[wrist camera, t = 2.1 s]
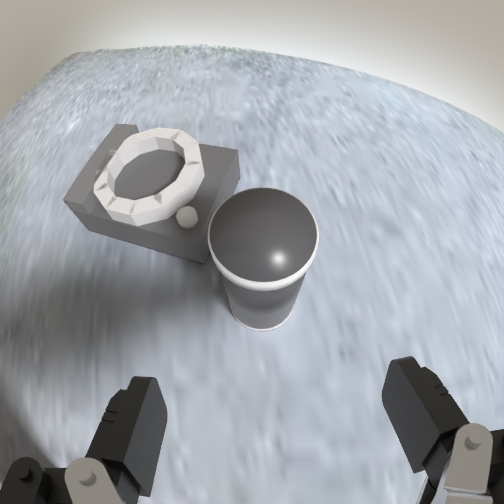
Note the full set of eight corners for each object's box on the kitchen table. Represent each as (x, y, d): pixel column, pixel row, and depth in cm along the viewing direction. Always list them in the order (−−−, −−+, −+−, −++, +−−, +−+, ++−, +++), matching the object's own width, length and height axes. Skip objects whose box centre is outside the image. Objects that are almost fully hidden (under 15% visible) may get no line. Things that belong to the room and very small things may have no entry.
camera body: (88, 230, 25) (62, 199, 20) (131, 158, 29) (116, 123, 24) (204, 264, 23) (191, 232, 19) (240, 176, 27) (236, 136, 22)
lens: (220, 321, 21) (190, 265, 12) (240, 262, 23) (228, 177, 14) (285, 339, 20) (306, 297, 11) (301, 278, 22) (327, 200, 13)
